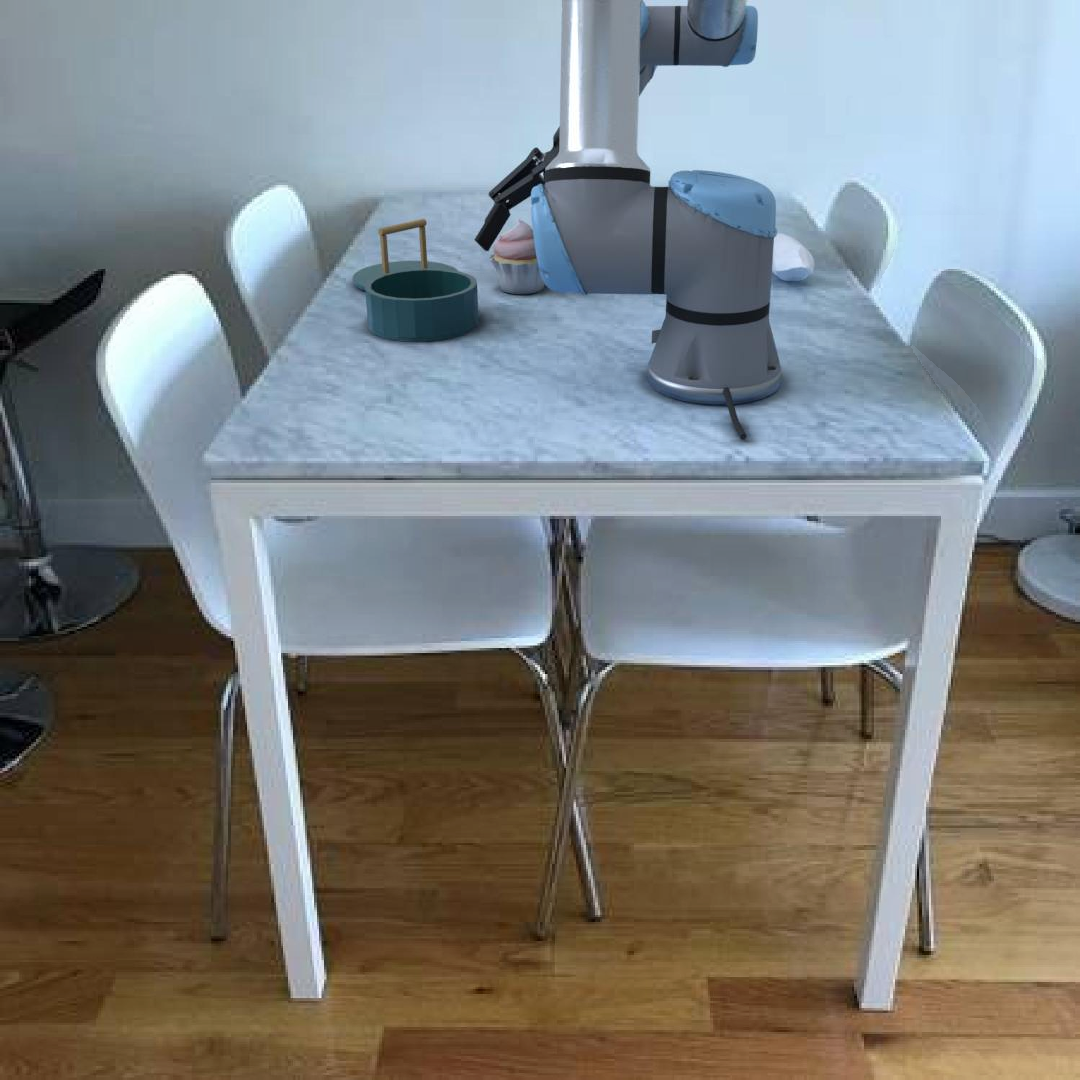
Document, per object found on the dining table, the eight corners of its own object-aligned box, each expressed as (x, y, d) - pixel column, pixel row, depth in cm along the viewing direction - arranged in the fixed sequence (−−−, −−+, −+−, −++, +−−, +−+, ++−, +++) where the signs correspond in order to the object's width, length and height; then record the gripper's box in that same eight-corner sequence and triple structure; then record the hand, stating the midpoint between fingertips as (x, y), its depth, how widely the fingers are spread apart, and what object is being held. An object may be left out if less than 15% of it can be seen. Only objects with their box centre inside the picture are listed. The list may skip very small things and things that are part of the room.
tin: (500, 323, 164) (499, 283, 161) (413, 349, 155) (410, 307, 152) (432, 301, 173) (430, 262, 171) (346, 324, 165) (343, 284, 162)
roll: (780, 293, 174) (783, 253, 171) (757, 270, 185) (760, 232, 182) (822, 291, 175) (825, 251, 172) (796, 268, 185) (799, 231, 182)
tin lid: (480, 282, 181) (478, 223, 177) (395, 305, 172) (391, 242, 168) (415, 262, 191) (412, 206, 187) (332, 283, 182) (326, 223, 178)
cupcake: (514, 276, 184) (513, 208, 179) (566, 286, 179) (565, 216, 174) (476, 291, 177) (473, 221, 172) (528, 302, 172) (526, 230, 167)
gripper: (664, 158, 171) (586, 286, 169) (542, 136, 187) (471, 253, 185) (638, 123, 165) (558, 255, 163) (515, 104, 182) (441, 224, 180)
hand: (511, 254), depth 174 cm, fingers open, 13 cm apart
